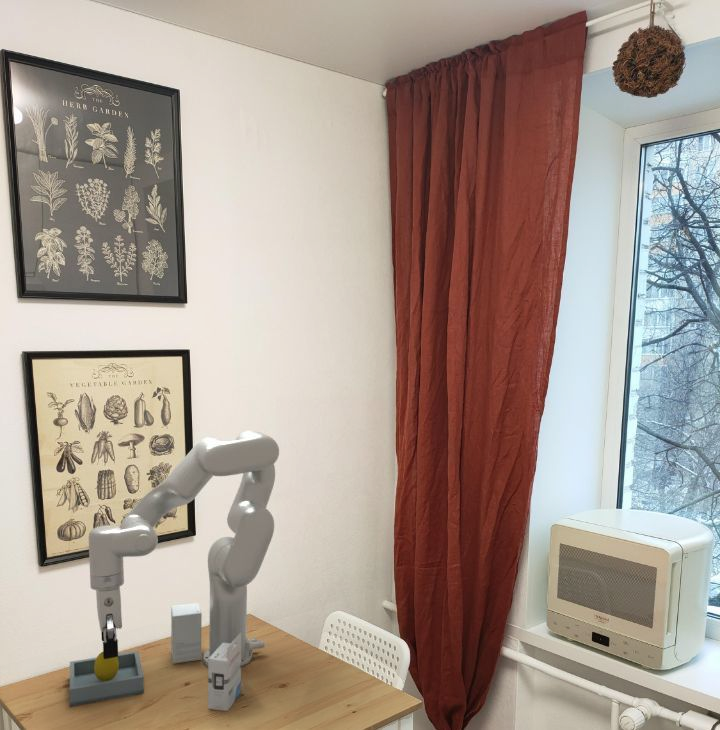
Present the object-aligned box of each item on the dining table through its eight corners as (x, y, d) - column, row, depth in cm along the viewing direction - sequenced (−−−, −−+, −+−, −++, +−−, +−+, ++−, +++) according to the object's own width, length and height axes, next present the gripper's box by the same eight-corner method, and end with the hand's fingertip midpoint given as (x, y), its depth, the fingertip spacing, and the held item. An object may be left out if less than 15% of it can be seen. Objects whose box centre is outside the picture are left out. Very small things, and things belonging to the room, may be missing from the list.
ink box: (222, 690, 161) (222, 629, 161) (241, 692, 160) (242, 631, 160) (207, 709, 153) (207, 645, 152) (227, 712, 152) (228, 647, 151)
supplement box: (198, 647, 183) (199, 601, 182) (201, 660, 176) (202, 612, 175) (170, 651, 180) (170, 604, 180) (172, 664, 173) (172, 615, 173)
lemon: (95, 690, 158) (95, 657, 158) (93, 679, 163) (93, 647, 163) (120, 685, 161) (120, 652, 161) (117, 674, 166) (117, 642, 165)
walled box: (138, 666, 172) (138, 650, 172) (143, 693, 159) (143, 676, 159) (69, 677, 166) (69, 661, 165) (69, 706, 153) (69, 689, 153)
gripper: (126, 588, 155) (129, 661, 156) (121, 564, 171) (123, 630, 172) (91, 594, 152) (94, 668, 153) (89, 569, 168) (91, 636, 169)
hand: (109, 648), depth 162 cm, fingers open, 9 cm apart
